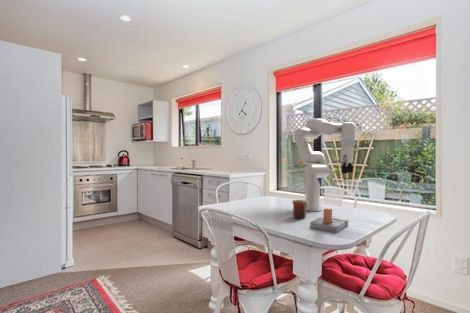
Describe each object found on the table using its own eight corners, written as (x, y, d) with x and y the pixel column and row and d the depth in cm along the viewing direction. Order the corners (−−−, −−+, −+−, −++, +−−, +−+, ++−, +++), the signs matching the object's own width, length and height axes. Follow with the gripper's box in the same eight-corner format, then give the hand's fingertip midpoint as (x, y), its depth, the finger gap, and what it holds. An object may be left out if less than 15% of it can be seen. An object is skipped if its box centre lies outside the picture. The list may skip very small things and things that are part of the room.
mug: (301, 220, 161) (301, 203, 161) (289, 217, 167) (289, 201, 167) (312, 217, 169) (312, 200, 169) (299, 214, 175) (300, 198, 175)
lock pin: (323, 227, 146) (323, 208, 146) (325, 226, 149) (325, 207, 149) (329, 228, 144) (329, 209, 144) (331, 227, 147) (332, 208, 146)
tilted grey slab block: (328, 223, 154) (328, 217, 154) (330, 222, 157) (330, 216, 157) (346, 227, 148) (346, 220, 148) (348, 225, 151) (348, 219, 151)
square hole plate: (310, 227, 145) (310, 222, 145) (320, 222, 156) (320, 217, 156) (336, 232, 136) (336, 226, 136) (345, 227, 147) (345, 221, 147)
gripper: (345, 144, 170) (345, 171, 170) (336, 143, 156) (335, 173, 157) (358, 143, 165) (358, 172, 165) (349, 143, 152) (349, 173, 152)
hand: (347, 172), depth 161 cm, fingers open, 9 cm apart
